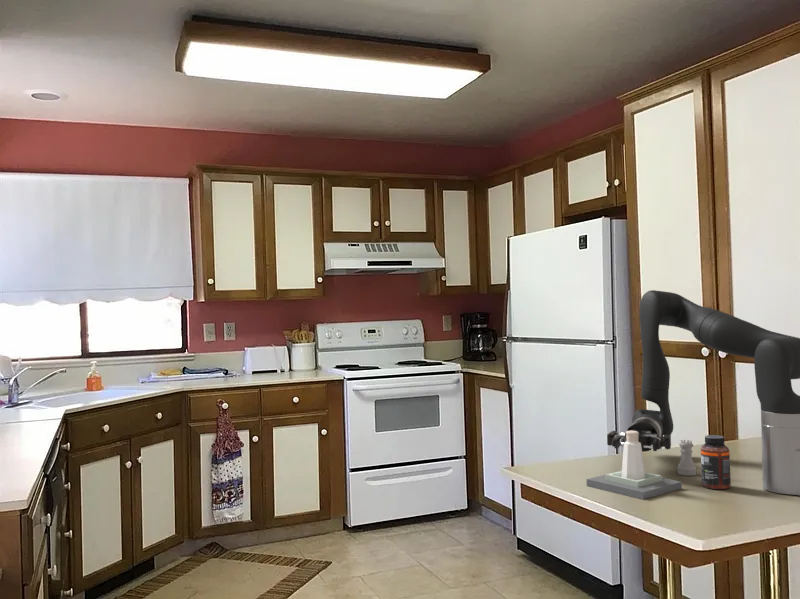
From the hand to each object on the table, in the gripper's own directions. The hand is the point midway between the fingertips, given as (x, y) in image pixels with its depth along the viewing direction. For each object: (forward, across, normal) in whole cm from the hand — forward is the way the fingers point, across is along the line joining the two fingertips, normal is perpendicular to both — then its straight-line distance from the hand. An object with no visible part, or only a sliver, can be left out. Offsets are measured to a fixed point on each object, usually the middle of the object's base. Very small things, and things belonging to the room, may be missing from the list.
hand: (635, 445), depth 163 cm
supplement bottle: (-3, +17, +9) cm, 19 cm away
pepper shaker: (+3, 0, +7) cm, 8 cm away
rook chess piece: (-14, +10, +9) cm, 19 cm away
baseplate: (+4, 0, +9) cm, 9 cm away
